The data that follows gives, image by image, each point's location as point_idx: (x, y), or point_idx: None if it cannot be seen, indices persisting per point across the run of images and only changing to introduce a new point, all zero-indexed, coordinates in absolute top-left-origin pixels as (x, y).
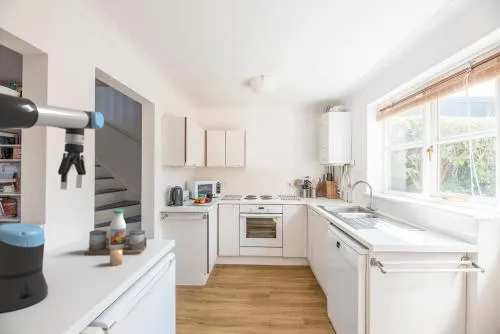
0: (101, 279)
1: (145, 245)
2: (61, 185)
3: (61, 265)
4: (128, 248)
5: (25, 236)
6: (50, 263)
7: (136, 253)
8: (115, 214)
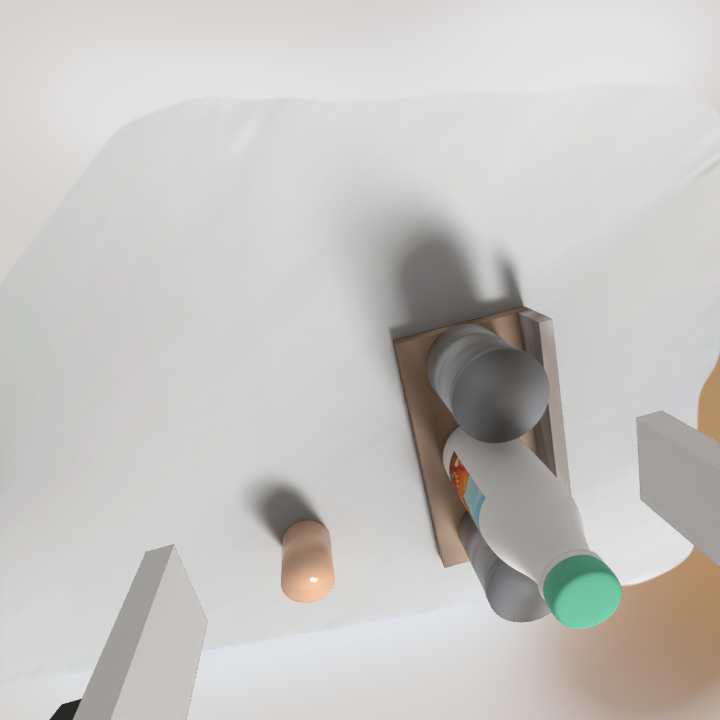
0: None
1: None
2: (127, 617)
3: (237, 348)
4: None
5: None
6: (248, 277)
7: (439, 549)
8: (539, 579)
